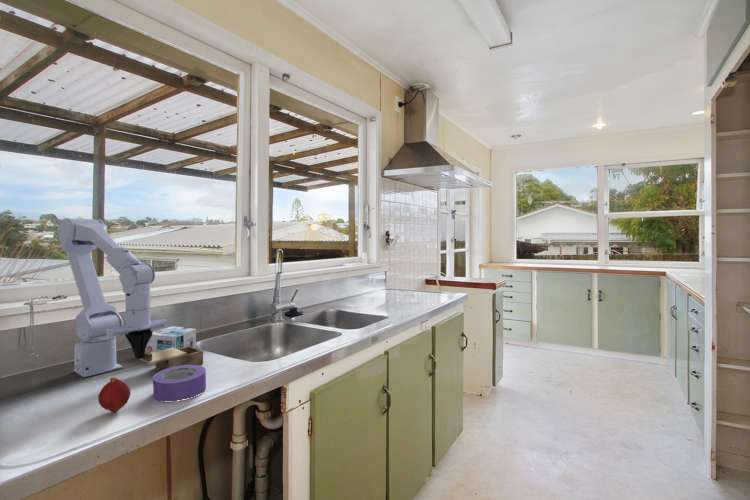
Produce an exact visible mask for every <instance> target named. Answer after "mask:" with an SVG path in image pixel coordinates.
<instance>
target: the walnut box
mask: <svg viewBox="0 0 750 500" xmlns="http://www.w3.org/2000/svg"><path fill="white" fill-rule="evenodd" d="M178 350H181V351H183V352H186V353H187V355H184V356H180V357H177V358H173V359H169V360H165V361H161V362H157V363H155V368H156V369H158V370H160V371H162V370H164V369H167V368H171V367H175V366H180V365H199V366H202V365H203V364H204V350H201V349H198V348H196V347H195V348H193V347H190V346H187V347H183V348H179V349H178Z"/></svg>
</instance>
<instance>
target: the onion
mask: <svg viewBox="0 0 750 500" xmlns="http://www.w3.org/2000/svg"><path fill="white" fill-rule="evenodd" d="M109 380H110V381H107V383H106V384H105V385H103V387H102V388H101V390H100V392H99V393H98V397H97V399H98V400H97V401H98V404H99V406H101V408H103V409H104V410H107V411H109V412H110V413H114V414H115V413H116V412H119V410H121V409H122V408H123V407H125V405H126V404H127V403H128V401H129V399H130V398H131V388H130V386H129V385H128V384H127V383H126V382H125V381H124V380H121V379H119V378H117V377H116V376H112V377H111V378H109Z"/></svg>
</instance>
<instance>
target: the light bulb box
mask: <svg viewBox="0 0 750 500" xmlns="http://www.w3.org/2000/svg"><path fill="white" fill-rule="evenodd" d="M187 346H190V347H193V348H196V346H197V329H196V328H191V327H183V326H173V325H172V326H169V327H164V328H162V329H158V330H154V331H152V336H151V338H150V340H149V341H148V344H147V346H146V349H145V351H146V352H149V353H152V352H156V351H161V350H165V349H169V348H175V349H179V348H183V347H187Z"/></svg>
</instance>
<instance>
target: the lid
mask: <svg viewBox="0 0 750 500" xmlns="http://www.w3.org/2000/svg"><path fill="white" fill-rule="evenodd" d="M184 355H187V353H186V352H183V351H181V350H178V349H175V348H169V349H165V350H161V351H156V352H152V353H149V352H146V350H145V353H144V357H143V358H141V359H139V360H140V361H142V362H144V363H147V364H149V365H153V364H156V363H157V362H161V361H165V360H169V359H173V358H177V357H180V356H184Z"/></svg>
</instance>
